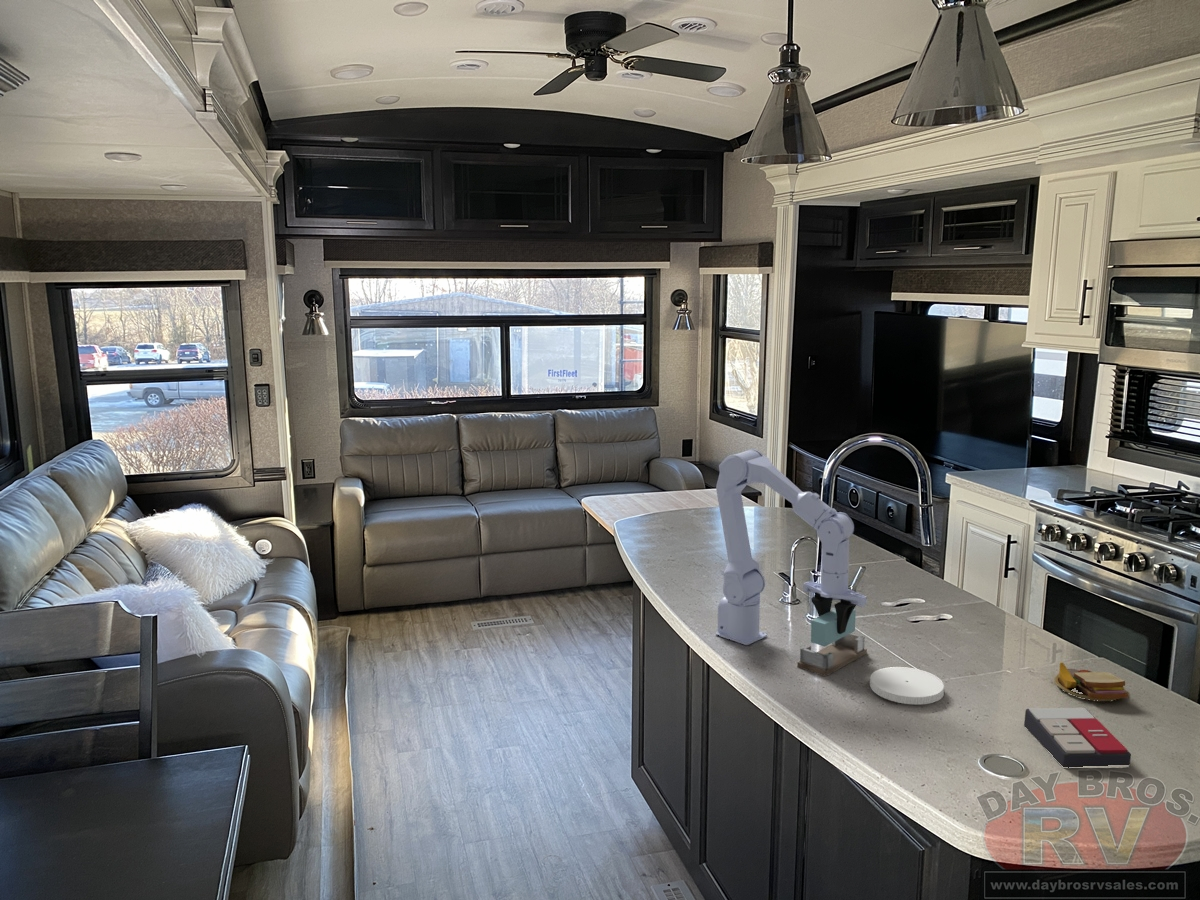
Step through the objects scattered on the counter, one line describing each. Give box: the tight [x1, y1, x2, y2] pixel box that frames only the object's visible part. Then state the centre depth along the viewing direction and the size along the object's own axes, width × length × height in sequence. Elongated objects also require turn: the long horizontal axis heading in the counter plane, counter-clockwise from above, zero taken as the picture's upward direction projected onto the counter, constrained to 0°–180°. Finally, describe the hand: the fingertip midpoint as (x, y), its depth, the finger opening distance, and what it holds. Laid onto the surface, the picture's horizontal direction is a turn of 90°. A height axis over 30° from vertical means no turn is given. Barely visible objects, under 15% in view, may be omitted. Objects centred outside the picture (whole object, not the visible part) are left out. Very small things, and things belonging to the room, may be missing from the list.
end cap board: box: [796, 644, 868, 677], centre depth 193 cm, size 7×16×1 cm, turn 133°
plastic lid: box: [869, 666, 945, 706], centre depth 177 cm, size 14×14×2 cm
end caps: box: [799, 632, 866, 670], centre depth 193 cm, size 6×15×3 cm, turn 133°
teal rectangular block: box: [810, 608, 857, 648], centre depth 192 cm, size 3×12×5 cm, turn 133°
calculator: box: [1023, 707, 1132, 768], centre depth 155 cm, size 11×4×15 cm
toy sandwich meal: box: [1053, 662, 1130, 702], centre depth 176 cm, size 12×14×5 cm
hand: (833, 630), depth 192 cm, fingers closed on teal rectangular block, 3 cm apart
